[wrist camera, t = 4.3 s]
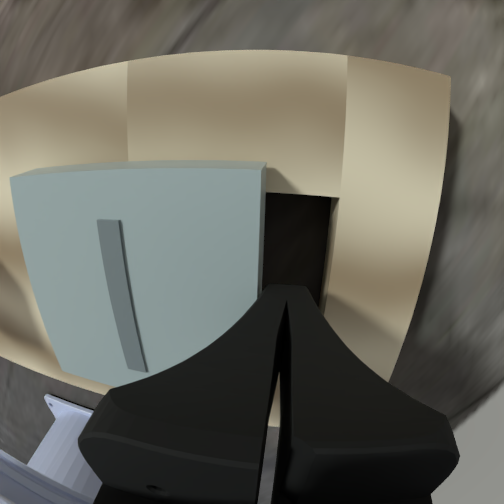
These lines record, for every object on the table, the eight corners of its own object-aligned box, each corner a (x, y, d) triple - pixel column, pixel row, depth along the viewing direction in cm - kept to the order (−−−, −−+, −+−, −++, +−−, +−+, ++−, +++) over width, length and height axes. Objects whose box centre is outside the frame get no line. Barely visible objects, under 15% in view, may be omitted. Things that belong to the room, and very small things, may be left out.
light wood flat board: (363, 401, 16) (367, 429, 14) (0, 334, 19) (-15, 349, 17) (427, 81, 9) (450, 76, 8) (-47, 124, 12) (-69, 129, 10)
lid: (257, 383, 13) (252, 414, 11) (78, 350, 14) (61, 372, 12) (266, 161, 9) (260, 170, 8) (36, 168, 10) (7, 178, 9)
